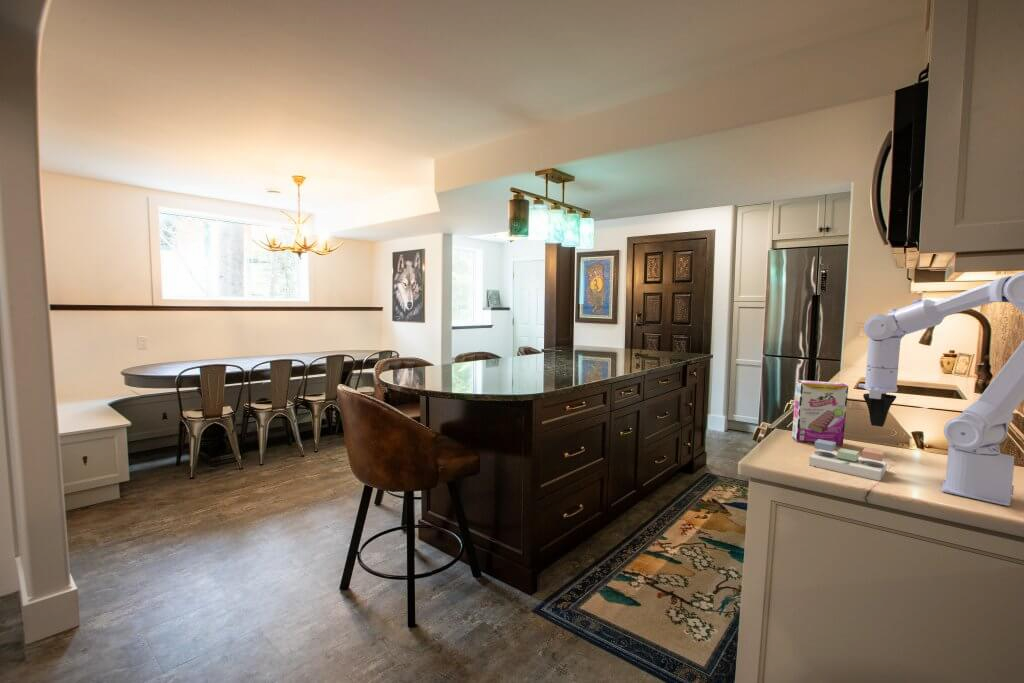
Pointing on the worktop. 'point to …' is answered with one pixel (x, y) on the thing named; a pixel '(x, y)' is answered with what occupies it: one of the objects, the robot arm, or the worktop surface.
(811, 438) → the candy bar box
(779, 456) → the worktop surface
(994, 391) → the robot arm
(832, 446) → the slate button
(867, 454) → the terracotta button
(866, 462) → the console
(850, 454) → the sage button
